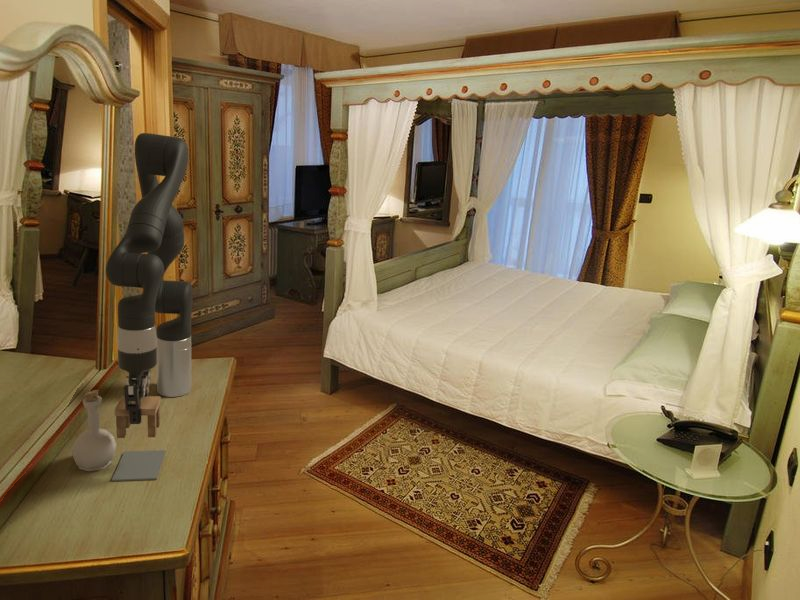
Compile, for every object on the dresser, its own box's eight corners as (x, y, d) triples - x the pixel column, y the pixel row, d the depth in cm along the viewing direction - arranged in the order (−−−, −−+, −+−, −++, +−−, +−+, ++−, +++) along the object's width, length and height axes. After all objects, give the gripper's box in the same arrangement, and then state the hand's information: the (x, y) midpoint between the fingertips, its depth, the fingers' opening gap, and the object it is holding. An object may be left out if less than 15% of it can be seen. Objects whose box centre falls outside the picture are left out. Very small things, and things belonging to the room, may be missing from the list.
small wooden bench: (160, 423, 124) (160, 396, 122) (155, 437, 118) (155, 409, 116) (122, 424, 122) (121, 396, 120) (115, 438, 116) (114, 409, 114)
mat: (124, 452, 127) (124, 451, 127) (165, 451, 129) (165, 450, 129) (111, 481, 116) (111, 479, 116) (156, 479, 119) (156, 478, 119)
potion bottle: (98, 477, 117) (94, 403, 112) (63, 468, 119) (58, 394, 114) (126, 456, 126) (123, 386, 121) (92, 448, 127) (89, 378, 122)
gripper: (149, 358, 109) (150, 432, 113) (162, 333, 122) (163, 400, 127) (108, 358, 107) (111, 433, 111) (126, 333, 120) (128, 401, 125)
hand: (139, 415), depth 119 cm, fingers closed on small wooden bench, 6 cm apart
